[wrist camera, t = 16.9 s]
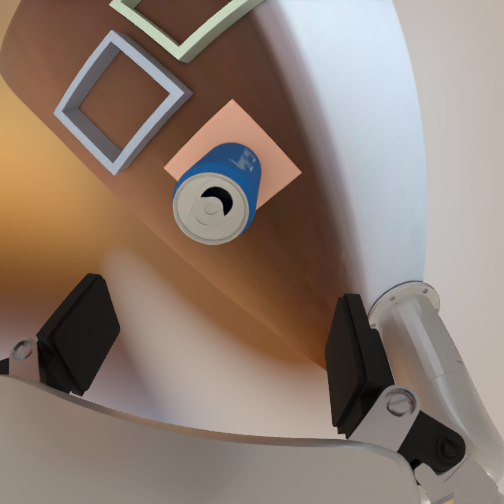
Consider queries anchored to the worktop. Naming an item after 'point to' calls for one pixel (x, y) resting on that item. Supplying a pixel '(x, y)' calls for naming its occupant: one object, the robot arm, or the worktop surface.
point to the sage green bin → (199, 39)
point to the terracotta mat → (243, 132)
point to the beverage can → (218, 194)
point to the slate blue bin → (86, 80)
